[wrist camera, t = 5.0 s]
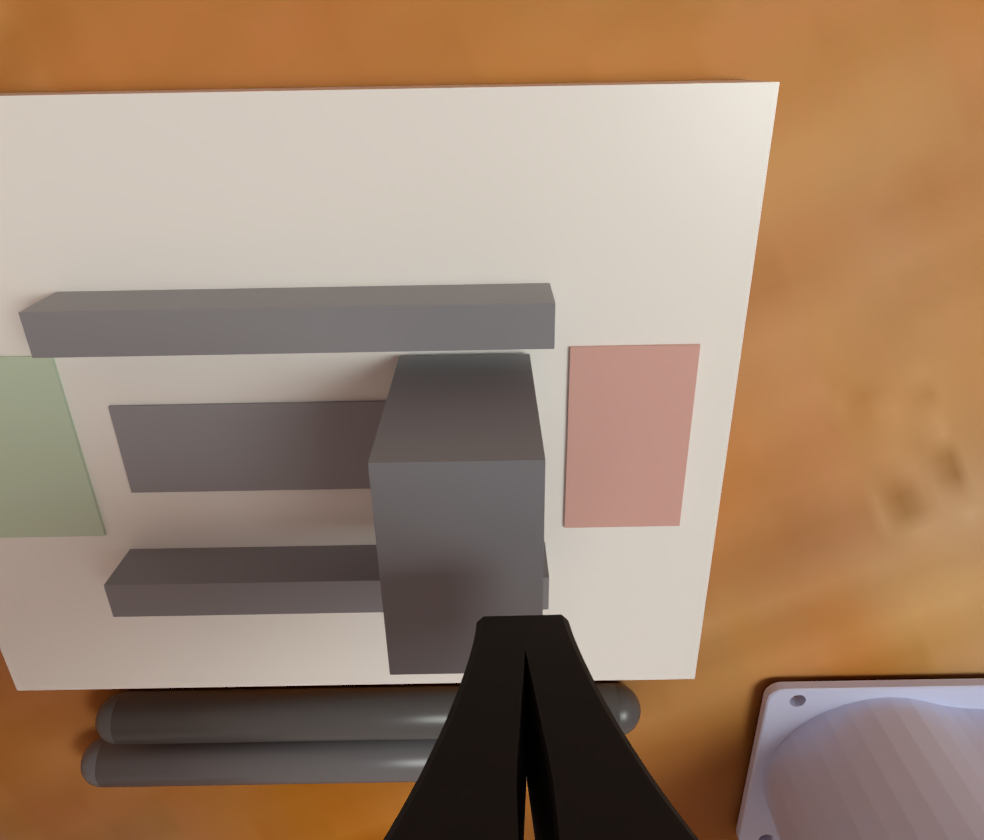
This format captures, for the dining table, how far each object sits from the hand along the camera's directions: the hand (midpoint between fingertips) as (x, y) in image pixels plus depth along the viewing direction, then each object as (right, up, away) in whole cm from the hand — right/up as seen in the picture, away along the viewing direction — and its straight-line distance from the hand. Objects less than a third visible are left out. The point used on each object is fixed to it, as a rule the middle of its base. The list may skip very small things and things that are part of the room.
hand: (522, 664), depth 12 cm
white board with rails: (-5, +2, +9) cm, 11 cm away
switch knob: (-1, +3, +6) cm, 7 cm away
